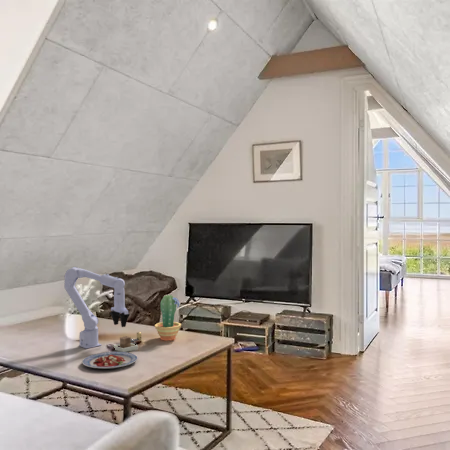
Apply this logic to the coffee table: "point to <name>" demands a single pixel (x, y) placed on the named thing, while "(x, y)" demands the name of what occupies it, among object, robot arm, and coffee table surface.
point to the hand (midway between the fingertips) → (119, 325)
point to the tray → (128, 349)
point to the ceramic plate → (109, 360)
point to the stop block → (125, 342)
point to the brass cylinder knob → (137, 337)
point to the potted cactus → (168, 319)
